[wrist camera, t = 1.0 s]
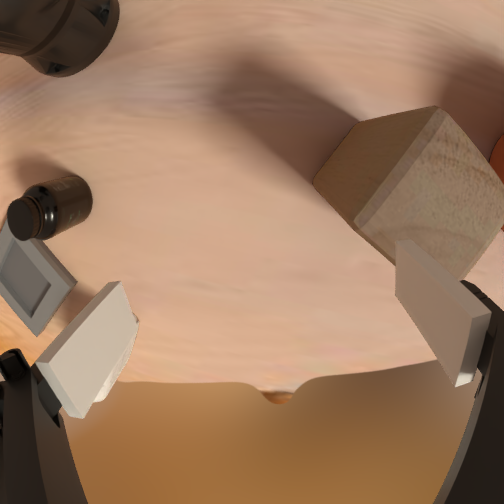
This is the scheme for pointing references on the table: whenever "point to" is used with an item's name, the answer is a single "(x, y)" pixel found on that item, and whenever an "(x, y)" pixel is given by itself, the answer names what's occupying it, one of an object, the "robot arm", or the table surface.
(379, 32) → the table surface
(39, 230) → the supplement bottle
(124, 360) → the photo printer
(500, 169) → the potted cactus
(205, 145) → the table surface
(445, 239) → the wooden block
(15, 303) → the base plate
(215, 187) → the table surface
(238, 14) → the table surface
